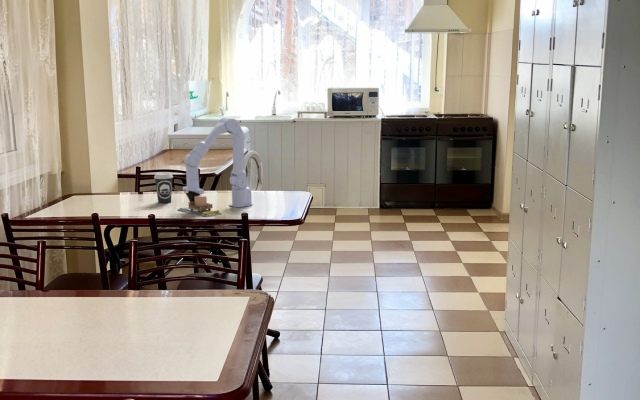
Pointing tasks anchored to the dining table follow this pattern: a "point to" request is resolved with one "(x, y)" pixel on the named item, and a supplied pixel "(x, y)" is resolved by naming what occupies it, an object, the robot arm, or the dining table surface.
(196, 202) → the block
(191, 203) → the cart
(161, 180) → the coffee cup
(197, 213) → the rail
